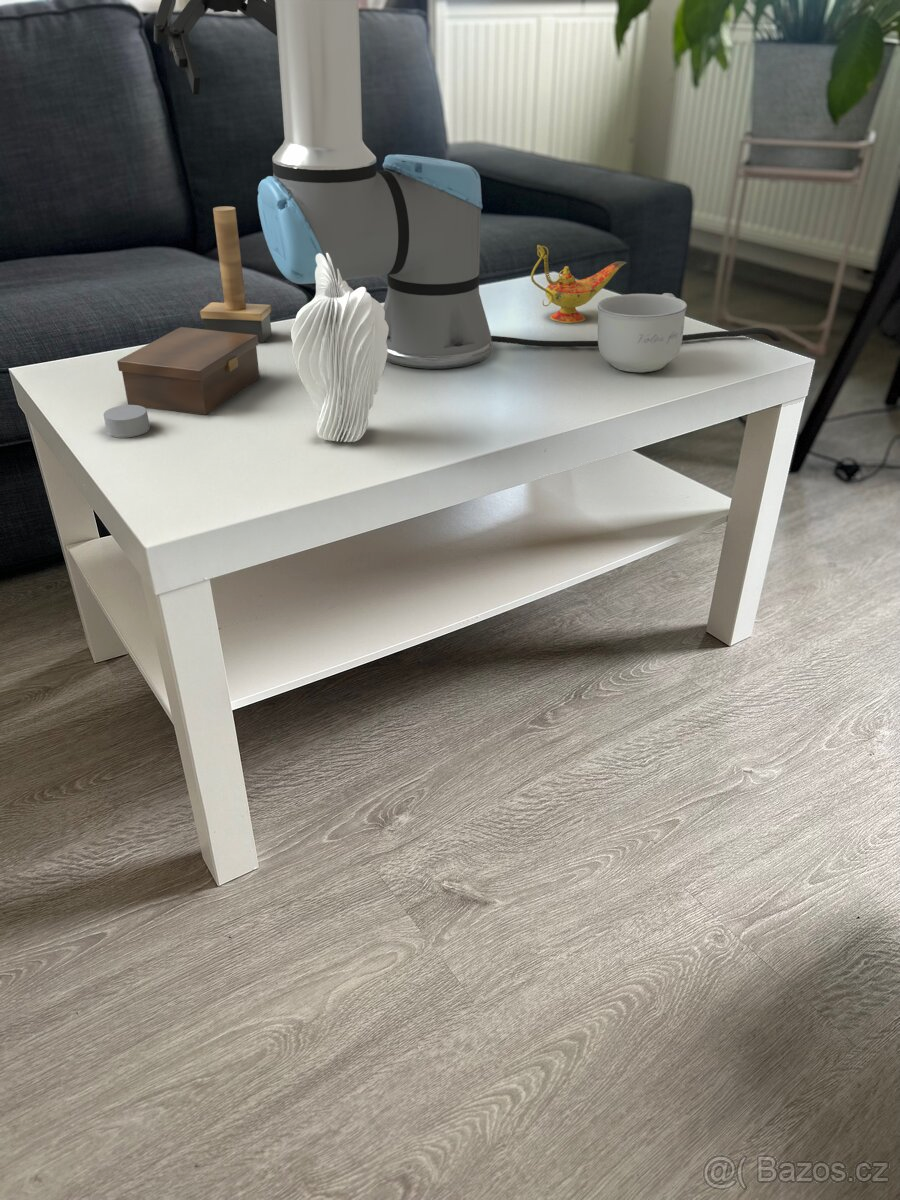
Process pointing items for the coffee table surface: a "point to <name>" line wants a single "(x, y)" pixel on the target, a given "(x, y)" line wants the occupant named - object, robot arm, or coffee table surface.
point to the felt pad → (126, 421)
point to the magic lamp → (572, 289)
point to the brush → (234, 286)
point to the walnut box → (190, 370)
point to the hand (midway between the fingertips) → (250, 85)
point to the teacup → (640, 330)
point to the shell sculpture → (340, 353)
